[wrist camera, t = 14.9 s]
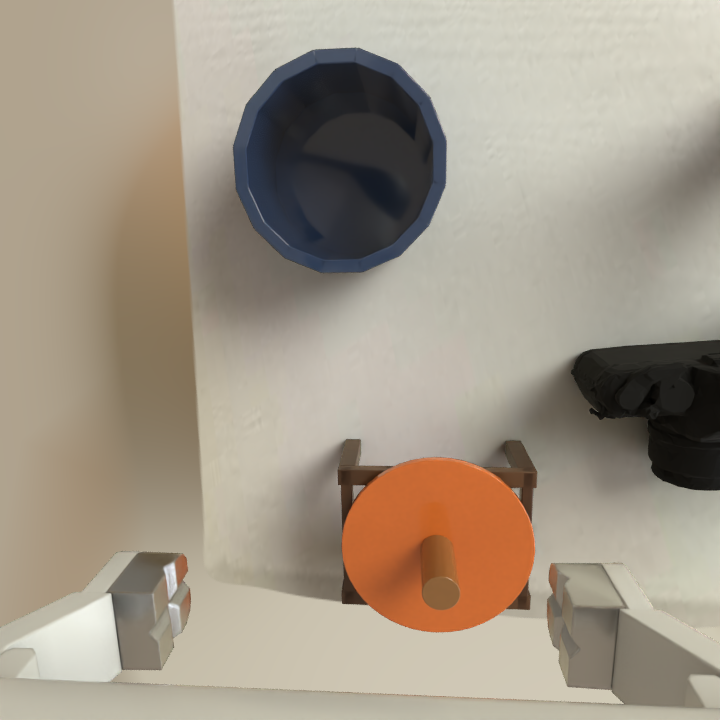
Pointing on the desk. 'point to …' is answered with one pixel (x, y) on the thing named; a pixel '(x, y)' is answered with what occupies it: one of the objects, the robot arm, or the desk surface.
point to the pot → (340, 160)
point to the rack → (352, 474)
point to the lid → (438, 544)
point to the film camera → (663, 403)
